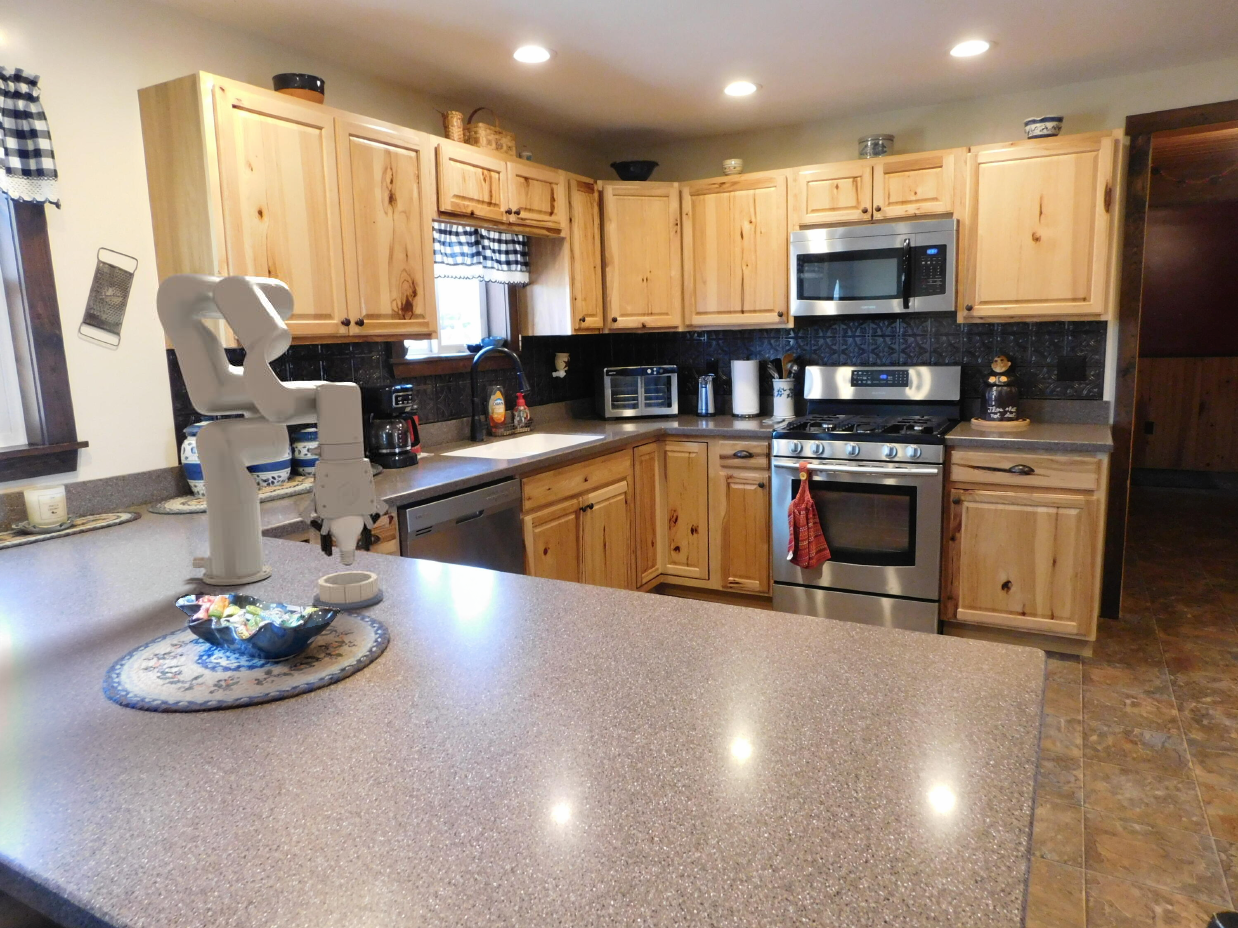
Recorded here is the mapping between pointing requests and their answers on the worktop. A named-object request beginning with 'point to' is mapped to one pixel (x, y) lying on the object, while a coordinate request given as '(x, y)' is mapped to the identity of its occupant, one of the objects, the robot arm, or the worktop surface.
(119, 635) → the worktop surface
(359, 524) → the lightbulb
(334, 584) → the holder
